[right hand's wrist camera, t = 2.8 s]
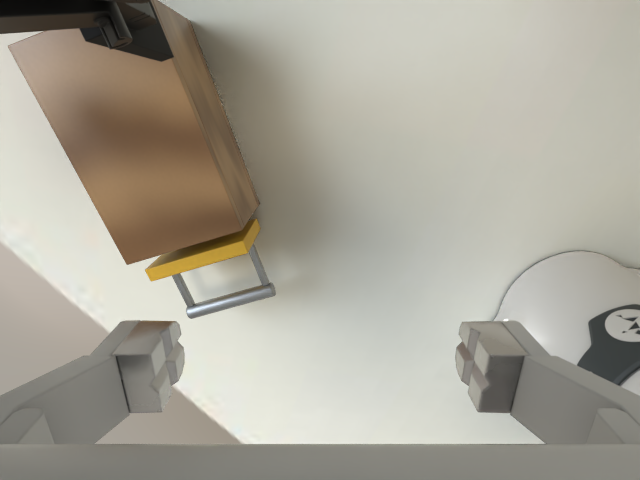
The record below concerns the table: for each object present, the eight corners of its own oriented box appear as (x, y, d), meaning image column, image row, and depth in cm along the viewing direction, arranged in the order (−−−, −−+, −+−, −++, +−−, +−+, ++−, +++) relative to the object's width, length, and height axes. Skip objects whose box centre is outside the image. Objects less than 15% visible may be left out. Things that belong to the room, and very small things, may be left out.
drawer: (280, 279, 39) (272, 311, 33) (202, 301, 40) (179, 336, 34) (196, 64, 31) (165, 53, 25) (103, 98, 32) (52, 96, 26)
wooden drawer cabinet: (259, 203, 37) (242, 230, 29) (167, 232, 38) (126, 265, 30) (189, 20, 31) (144, -9, 23) (84, 60, 32) (6, 45, 24)
